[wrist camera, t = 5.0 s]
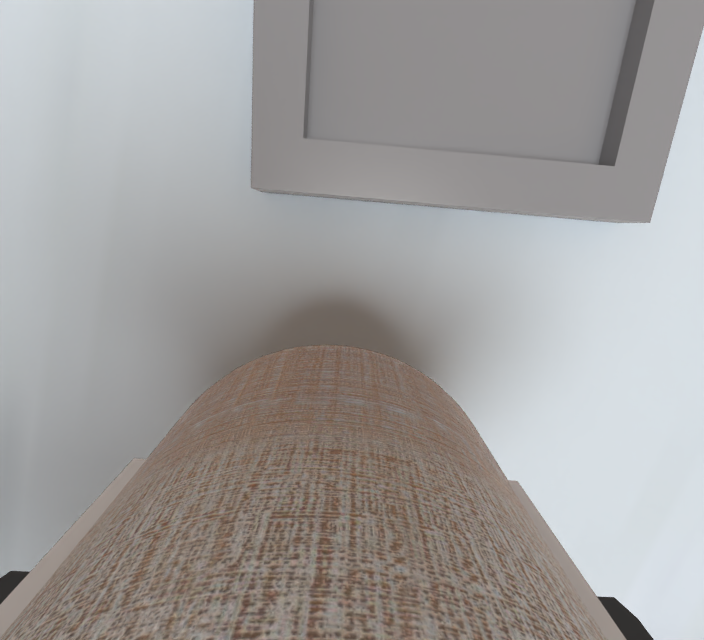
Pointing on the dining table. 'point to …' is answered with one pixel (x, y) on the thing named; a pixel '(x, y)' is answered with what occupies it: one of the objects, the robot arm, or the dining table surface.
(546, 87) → the grey tray
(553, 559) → the planter
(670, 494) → the dining table surface
